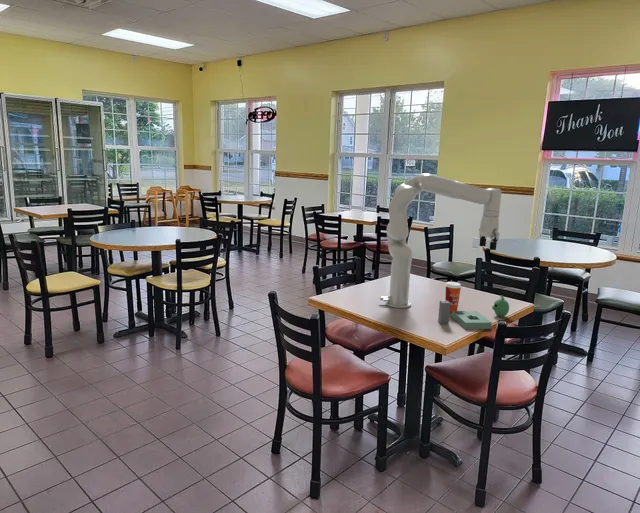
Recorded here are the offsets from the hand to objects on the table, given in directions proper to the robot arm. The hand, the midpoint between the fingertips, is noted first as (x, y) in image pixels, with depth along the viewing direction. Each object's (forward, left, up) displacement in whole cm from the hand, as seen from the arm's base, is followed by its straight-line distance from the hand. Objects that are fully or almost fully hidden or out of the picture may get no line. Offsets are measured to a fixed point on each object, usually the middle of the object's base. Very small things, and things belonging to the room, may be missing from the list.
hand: (487, 247), depth 237 cm
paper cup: (-19, -8, -30) cm, 37 cm away
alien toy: (+2, -16, -30) cm, 35 cm away
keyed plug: (-29, -25, -30) cm, 49 cm away
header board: (-16, -25, -30) cm, 43 cm away
